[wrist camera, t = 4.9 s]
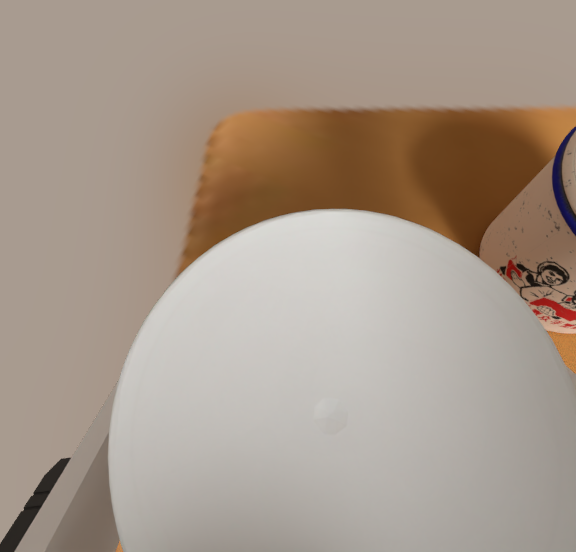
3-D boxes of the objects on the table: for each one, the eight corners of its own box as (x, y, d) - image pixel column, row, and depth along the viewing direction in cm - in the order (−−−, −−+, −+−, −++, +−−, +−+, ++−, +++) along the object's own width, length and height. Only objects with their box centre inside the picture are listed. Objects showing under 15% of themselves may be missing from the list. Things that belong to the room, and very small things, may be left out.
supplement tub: (363, 298, 22) (427, 134, 9) (447, 448, 19) (768, 578, 5) (224, 362, 22) (53, 300, 8) (286, 528, 19) (176, 905, 5)
